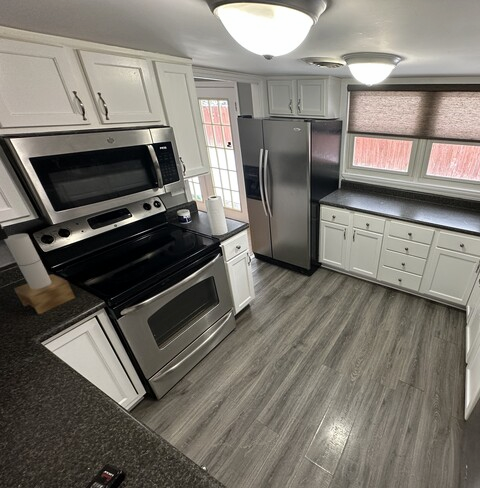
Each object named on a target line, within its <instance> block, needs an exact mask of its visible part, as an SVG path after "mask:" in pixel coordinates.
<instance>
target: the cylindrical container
mask: <svg viewBox="0 0 480 488" xmlns="http://www.w3.org/2000/svg"><path fill="white" fill-rule="evenodd" d="M7 236H8V239H4V242H5V244H6V247H7V248H8V249H9V251H10V254H11V255H12V257H13V259H14V261H15V262H16V264H17V266H18V268H19V269H20V272H21V274H22V275H23V277H24V279H25V281H26V284H27V283H28V284H29V286H30V288H31V289H39V288H43V287H46V286H48V285H50V284H51V283H52V282H51V280H50V278H49V274H48V272H47V269H46V267H45V266H44V264H43V262H42V259H41V257H40V255H39V254H38V252H37V250H36V248H35V245H34V244H33V241H32V239H31V238H30V236H29V234H28V233H16V234H13V235H11V234H10V235H7Z"/></svg>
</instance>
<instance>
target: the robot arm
mask: <svg viewBox="0 0 480 488" xmlns="http://www.w3.org/2000/svg"><path fill="white" fill-rule="evenodd" d="M8 236H9V235H7V232H6V231H5V229H4V227H3V225H2V224H1V223H0V241H3V240H4V239H8Z"/></svg>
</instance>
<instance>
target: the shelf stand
mask: <svg viewBox="0 0 480 488" xmlns="http://www.w3.org/2000/svg"><path fill="white" fill-rule="evenodd" d="M48 276H49V278H50V280H51V282H52V283H51V284H50V285H48V286H46V287H43V288H39V289H31V288H30V286H29V284H28V283H27V282H26V283H25V284H22V285H20V286H17V287H14V288H13V290H14V292H15V294H16V295H17V296H18V297H17V298H18V299H19V300H20V302H21V304H22V305H23V306H24V307H27V306H31V307H32V308H34V310H35V312H36V314H38V315H41V314H44V313H45V312H48V311H49V310H53V309H54V308H57V307H58V306H61V305H62V304H65V303H68V302H69V301H71V300H73V299H76V296H75V294H74V292H73V289H72V288H71V286H70V283H69V280H66V279H64V278H61V277H60V276H57V275H55V274H53V273H52V274H48Z"/></svg>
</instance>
